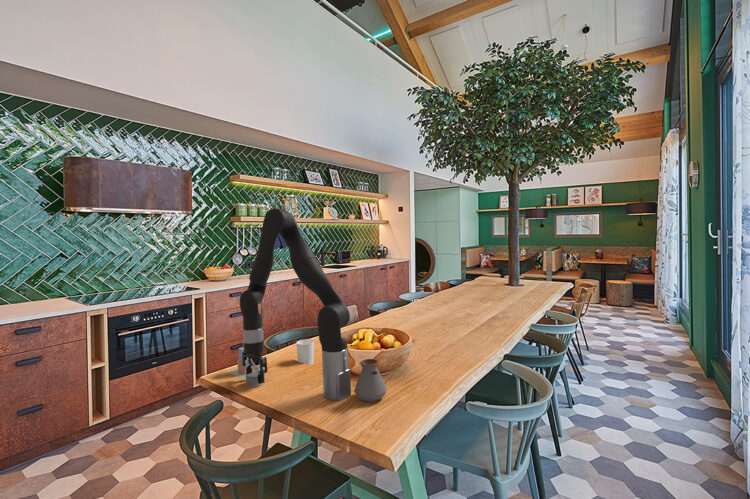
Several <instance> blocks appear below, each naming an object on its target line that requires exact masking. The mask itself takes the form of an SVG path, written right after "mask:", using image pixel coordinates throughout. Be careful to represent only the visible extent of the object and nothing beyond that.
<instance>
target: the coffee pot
mask: <svg viewBox="0 0 750 499" xmlns="http://www.w3.org/2000/svg"><path fill="white" fill-rule="evenodd" d="M378 364H379V360H378V359H375V358H367V359H363V360H361V361H360V362H359V365H360V366H361V368H362V369H361V371H360V374H359V376H358V380H357V382H356V385H355V387H354V394H355V396H356V397H358V399H360V400H361V401H362V402H365V403H373V402H374V403H375V402H378V401H380V400H381V399H382V398H383V397H384V396H385V395H386V392H387V386H386V383H385V382H384V379H383V377H382V375H381V373H380V370H379V369H378Z"/></svg>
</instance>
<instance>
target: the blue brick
mask: <svg viewBox="0 0 750 499" xmlns="http://www.w3.org/2000/svg"><path fill="white" fill-rule="evenodd" d="M242 352H244V348H243V346H242V347H239V348H238V360H241V361H242ZM245 362H246V360H245Z"/></svg>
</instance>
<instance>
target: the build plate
mask: <svg viewBox="0 0 750 499" xmlns="http://www.w3.org/2000/svg"><path fill="white" fill-rule="evenodd" d="M259 370H260V368H259ZM264 370H265V368H264ZM267 371H269V369H268V368H267ZM255 372H256V371H255ZM227 373H229V374H231V375H233V376H234V377H237V378H239V379H242V380H244V379H246V375H245V374H242V373H240V372H238V368H236V369H234V370H231V371H230V370H229V371H228V372H227ZM252 373H253V372H252Z"/></svg>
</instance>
